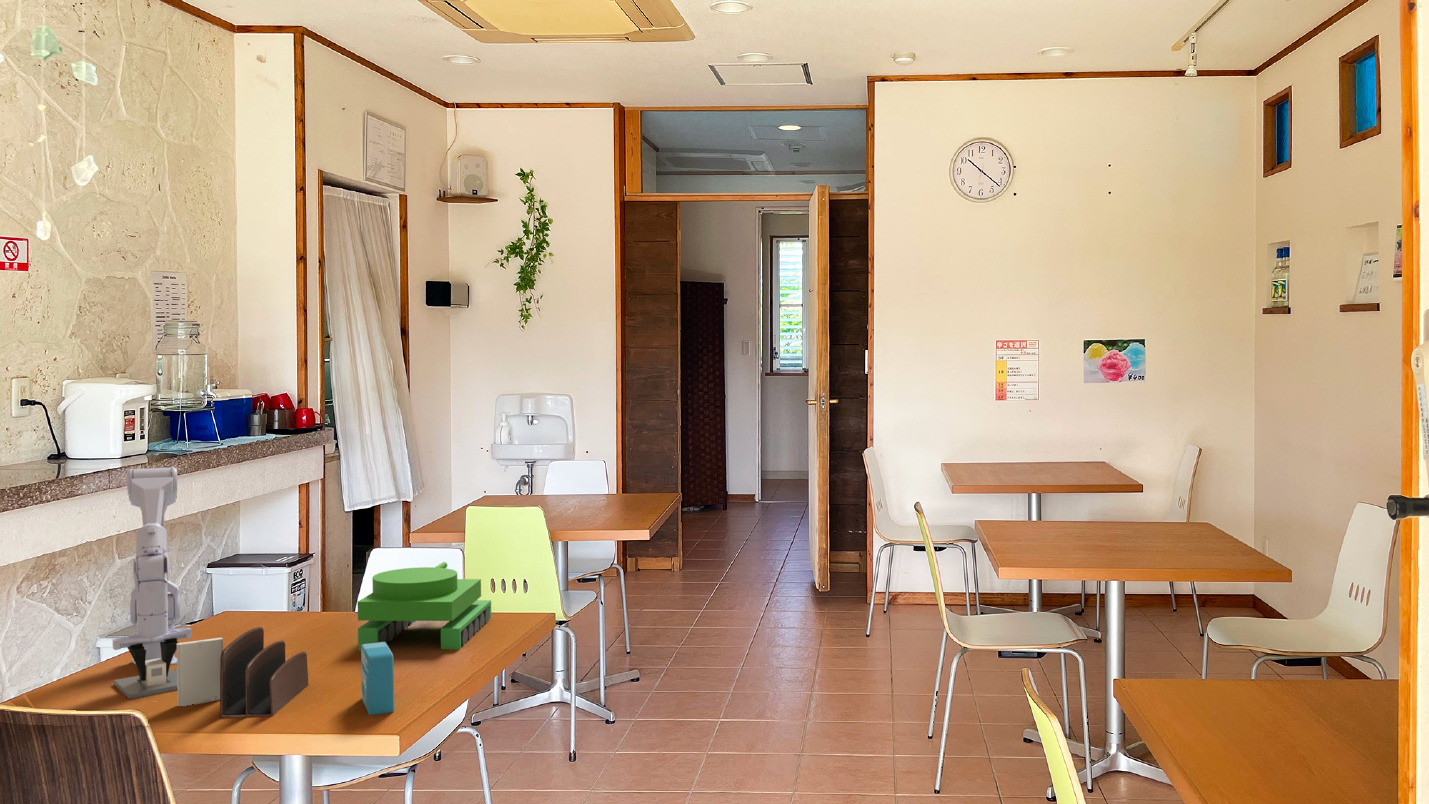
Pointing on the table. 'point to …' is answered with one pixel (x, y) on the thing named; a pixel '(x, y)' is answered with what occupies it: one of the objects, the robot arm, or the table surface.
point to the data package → (377, 678)
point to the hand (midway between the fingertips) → (153, 677)
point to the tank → (422, 605)
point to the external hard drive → (198, 671)
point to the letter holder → (258, 676)
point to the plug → (155, 672)
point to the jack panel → (135, 689)
